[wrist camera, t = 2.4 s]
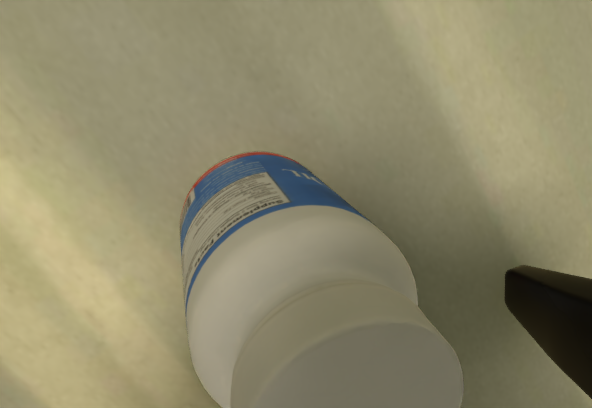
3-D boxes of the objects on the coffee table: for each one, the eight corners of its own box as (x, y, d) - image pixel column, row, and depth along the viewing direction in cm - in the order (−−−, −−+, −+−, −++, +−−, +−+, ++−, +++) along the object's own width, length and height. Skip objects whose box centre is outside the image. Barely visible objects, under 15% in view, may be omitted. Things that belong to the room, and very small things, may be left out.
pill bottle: (346, 225, 17) (539, 414, 8) (239, 307, 17) (320, 587, 8) (270, 114, 15) (426, 214, 6) (144, 208, 15) (115, 453, 6)
